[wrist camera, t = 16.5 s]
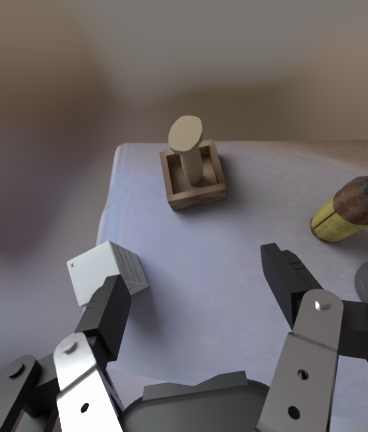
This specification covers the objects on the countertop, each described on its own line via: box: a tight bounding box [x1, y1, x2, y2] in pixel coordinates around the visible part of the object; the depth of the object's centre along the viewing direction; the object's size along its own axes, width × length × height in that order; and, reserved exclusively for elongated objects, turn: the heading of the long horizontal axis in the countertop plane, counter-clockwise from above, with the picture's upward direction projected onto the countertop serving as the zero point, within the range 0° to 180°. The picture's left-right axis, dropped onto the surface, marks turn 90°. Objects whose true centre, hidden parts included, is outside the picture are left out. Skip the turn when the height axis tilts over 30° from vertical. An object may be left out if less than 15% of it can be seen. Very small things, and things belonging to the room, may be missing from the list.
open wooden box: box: [160, 139, 227, 211], centre depth 47 cm, size 11×11×5 cm
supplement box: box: [67, 241, 149, 307], centre depth 38 cm, size 7×7×13 cm
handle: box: [169, 116, 203, 186], centre depth 41 cm, size 5×6×15 cm
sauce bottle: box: [310, 176, 368, 242], centre depth 32 cm, size 7×6×20 cm
